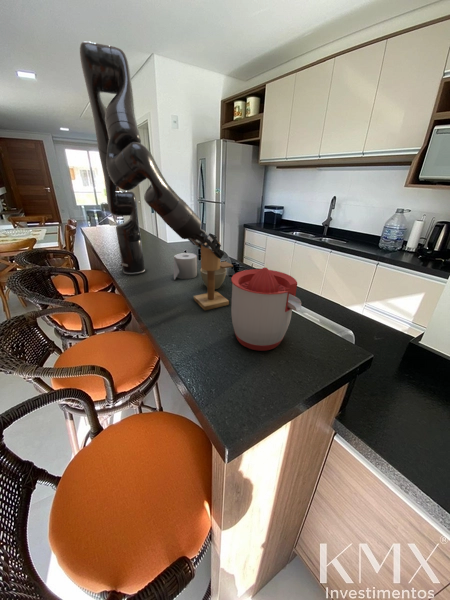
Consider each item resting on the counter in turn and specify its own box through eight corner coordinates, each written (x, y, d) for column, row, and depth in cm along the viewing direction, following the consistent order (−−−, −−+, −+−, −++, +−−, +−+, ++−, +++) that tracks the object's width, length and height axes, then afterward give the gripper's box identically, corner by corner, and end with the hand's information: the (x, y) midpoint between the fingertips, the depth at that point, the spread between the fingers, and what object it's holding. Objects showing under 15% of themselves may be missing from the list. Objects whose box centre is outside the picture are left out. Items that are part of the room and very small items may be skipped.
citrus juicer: (281, 368, 56) (294, 287, 47) (217, 343, 64) (218, 270, 55) (302, 335, 68) (315, 266, 59) (246, 317, 76) (250, 254, 67)
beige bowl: (196, 289, 95) (195, 271, 92) (207, 280, 103) (207, 264, 100) (220, 293, 92) (220, 275, 89) (229, 284, 100) (230, 267, 97)
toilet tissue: (170, 281, 101) (169, 261, 98) (178, 270, 113) (177, 252, 110) (192, 282, 101) (191, 262, 97) (198, 271, 113) (197, 253, 109)
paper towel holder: (193, 299, 87) (192, 255, 80) (216, 294, 91) (216, 252, 84) (204, 310, 80) (203, 262, 73) (228, 304, 84) (230, 259, 77)
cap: (206, 271, 76) (206, 246, 73) (198, 266, 81) (197, 241, 77) (233, 267, 81) (234, 242, 77) (224, 262, 85) (225, 239, 82)
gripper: (203, 209, 62) (236, 249, 74) (175, 204, 72) (208, 240, 84) (186, 233, 62) (222, 269, 74) (160, 225, 72) (195, 258, 84)
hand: (214, 253), depth 79 cm, fingers closed on cap, 6 cm apart
